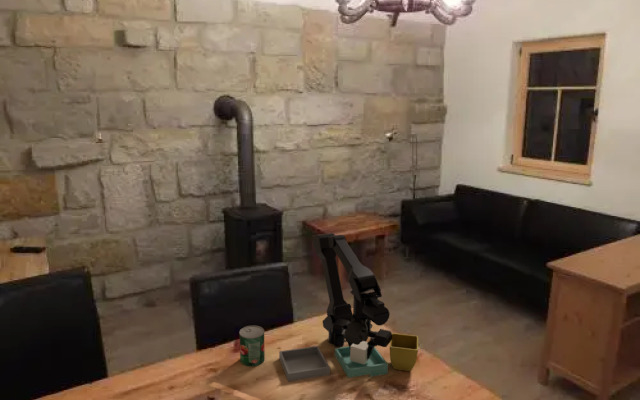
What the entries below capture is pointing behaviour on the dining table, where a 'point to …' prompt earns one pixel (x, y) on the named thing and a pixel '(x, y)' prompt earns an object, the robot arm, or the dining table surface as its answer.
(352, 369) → the teal bin
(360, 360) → the stone block
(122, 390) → the dining table surface
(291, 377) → the charcoal bin
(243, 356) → the canned tomato
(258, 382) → the dining table surface
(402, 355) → the flower pot
